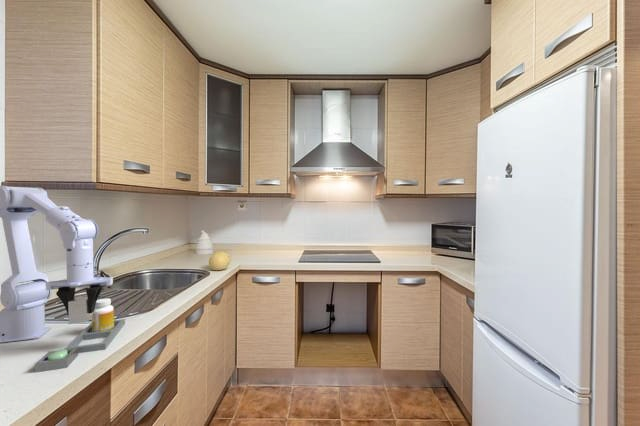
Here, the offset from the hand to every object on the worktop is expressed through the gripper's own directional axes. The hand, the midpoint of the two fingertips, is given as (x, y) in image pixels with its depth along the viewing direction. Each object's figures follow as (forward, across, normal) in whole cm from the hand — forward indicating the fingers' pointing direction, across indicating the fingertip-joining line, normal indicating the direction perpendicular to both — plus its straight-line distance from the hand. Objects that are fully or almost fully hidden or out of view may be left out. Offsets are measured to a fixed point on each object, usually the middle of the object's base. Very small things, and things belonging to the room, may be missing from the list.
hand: (81, 313), depth 81 cm
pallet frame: (+9, +2, +4) cm, 10 cm away
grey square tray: (+9, -2, -9) cm, 13 cm away
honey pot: (+9, +25, +158) cm, 160 cm away
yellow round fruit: (+9, +36, +89) cm, 97 cm away
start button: (+9, -2, -9) cm, 13 cm away
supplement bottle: (+9, +2, +9) cm, 13 cm away
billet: (+2, 0, 0) cm, 2 cm away
